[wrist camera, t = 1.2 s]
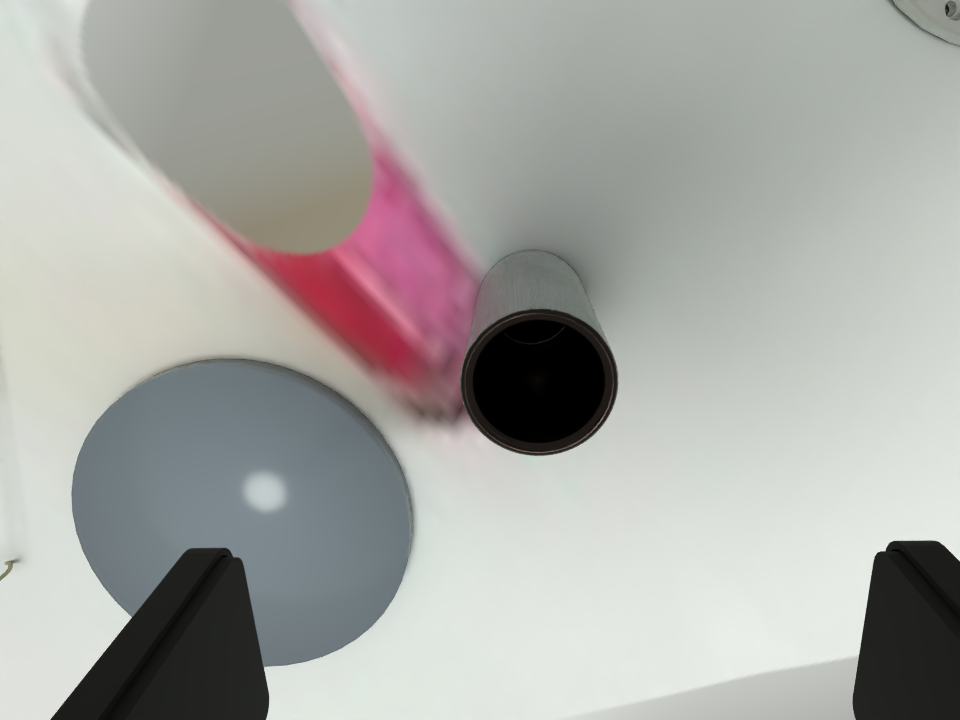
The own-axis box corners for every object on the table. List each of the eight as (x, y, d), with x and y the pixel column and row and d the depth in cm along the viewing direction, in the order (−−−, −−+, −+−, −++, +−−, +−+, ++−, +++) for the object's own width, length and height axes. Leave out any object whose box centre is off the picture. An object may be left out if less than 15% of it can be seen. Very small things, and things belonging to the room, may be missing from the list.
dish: (396, 352, 30) (391, 360, 29) (425, 647, 35) (422, 665, 34) (50, 365, 31) (33, 374, 30) (126, 651, 36) (113, 667, 35)
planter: (512, 370, 30) (511, 483, 20) (457, 284, 29) (429, 360, 19) (603, 319, 29) (647, 411, 20) (550, 228, 28) (568, 277, 18)
